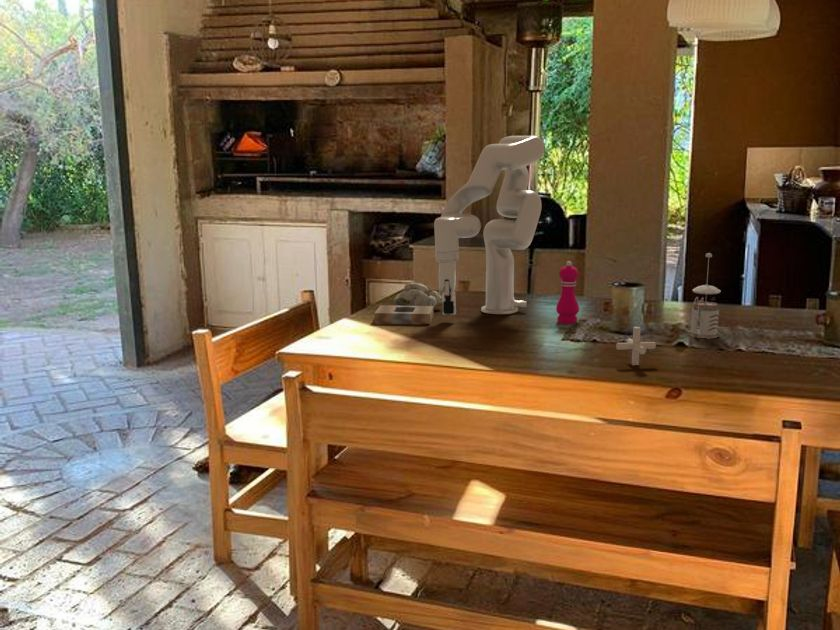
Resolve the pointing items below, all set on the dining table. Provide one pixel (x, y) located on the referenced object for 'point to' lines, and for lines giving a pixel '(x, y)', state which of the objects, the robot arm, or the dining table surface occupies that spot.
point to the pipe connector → (636, 345)
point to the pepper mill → (567, 295)
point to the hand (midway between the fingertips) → (449, 310)
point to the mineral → (417, 296)
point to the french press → (705, 310)
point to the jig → (404, 314)
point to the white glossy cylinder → (453, 303)
